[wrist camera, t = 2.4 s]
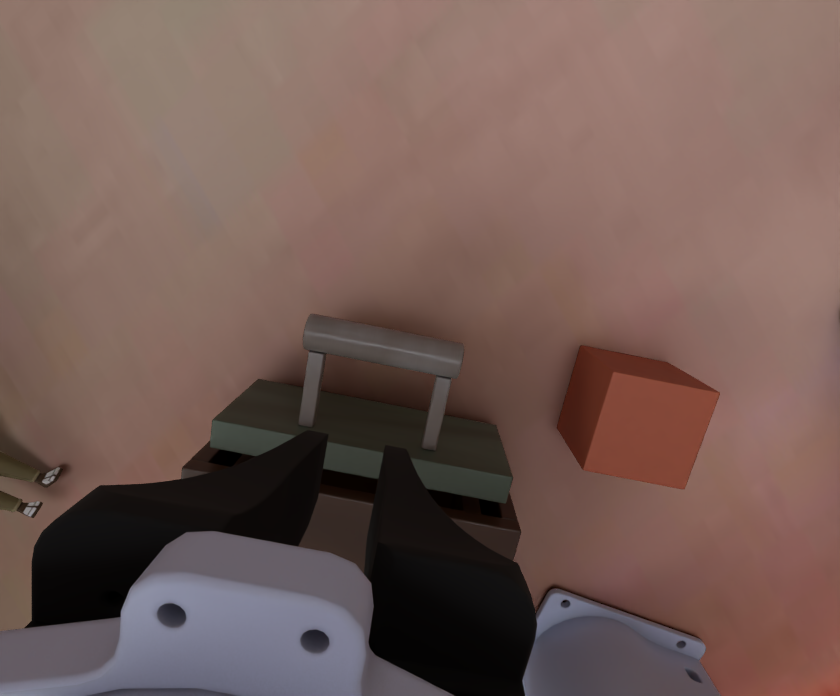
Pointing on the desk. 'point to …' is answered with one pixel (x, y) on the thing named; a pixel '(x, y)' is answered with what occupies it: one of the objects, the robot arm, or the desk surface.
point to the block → (635, 417)
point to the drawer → (373, 418)
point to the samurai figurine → (18, 470)
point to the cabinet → (351, 512)
